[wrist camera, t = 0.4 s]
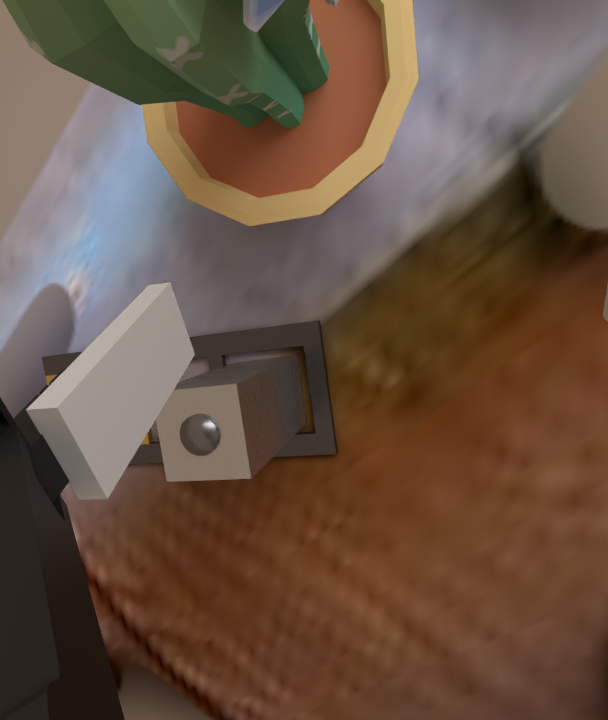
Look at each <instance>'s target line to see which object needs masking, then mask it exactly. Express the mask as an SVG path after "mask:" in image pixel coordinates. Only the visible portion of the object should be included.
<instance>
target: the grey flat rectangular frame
mask: <svg viewBox="0 0 608 720" xmlns="http://www.w3.org/2000/svg"><path fill="white" fill-rule="evenodd" d="M189 339H190V341H191V344H192V347H193V350H194V353H195V355H194V357H193V359H195V358H203V357H208V359H209V365H210V371H212V370H215V369H218V368H221V367H223V366H226V362H225V356H224V355H229V354H237V353H246V352H254V351H263V350H271V349H280V348H288V347H297V346H304V353H305V360H306V368H307V375H308V382H309V389H310V396H311V403H312V410H313V417H314V425H315V432H303V433H296V434H295V435H294V436H293V437H292V438H291V439H290V440H289V441H288V442H287V443H286V444H285V445H284V446H283V447H282V448H281V449H280V450H279V451H278V452H277V453H276V454H275V455H274V456H273V457H288V456H308V455H328V454H337V452H338V451H337V444H336V436H335V429H334V421H333V414H332V407H331V399H330V392H329V385H328V377H327V370H326V362H325V355H324V348H323V340H322V333H321V326H320V320H319V321H312V322H304V323H297V324H289V325H281V326H274V327H266V328H259V329H251V330H243V331H236V332H228V333H221V334H213V335H205V336H198V337H190V338H189ZM81 353H82V352H76V353H69V354H61V355H53V356H46V357H42V360H43V365H44V370H45V375H46V380H47V385H49V382H50V381H51V380H52V379H53V378H54V377H55V376H56V375H57V374H58V373H59V372H61V371H62V370H64V369H65V368H67V367H68V366H70V365H71V364H72V363H73V361H74V360H75V359H76V358H77V357H78V356H79V355H80V354H81ZM147 463H163V457H162V452H161V446H160V442H153V440H152V435H151V429H150V430H149V431H148V433H147V435H146V436H145V438H144V440H143V441H142V443H141V444H140V446H139V448H138V449H137V451H136V453H135V454H134V456H133V458H132V459H131V461H130V463H129V464H147Z"/></svg>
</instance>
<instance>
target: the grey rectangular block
mask: <svg viewBox="0 0 608 720" xmlns="http://www.w3.org/2000/svg"><path fill="white" fill-rule="evenodd" d="M156 423H157V429H158V434H159V440H160V446H161V452H162V457H163V463H164V469H165V474H166V480H167V482H174V481H201V480H228V479H251V478H252V477H253V476H254V475H255V474H256V473H257V472H258V471H259V470H260V469H261V468H262V467H263V466H264V465H265V464H266V463H267V462H268V461H269V460H270V459H271V458H272V457H273V456H274V455H275V454H276V453H277V452H278V451H279V450H280V449H281V448H282V447H283V446H284V445H285V444H286V443H287V442H288V441H289V440H290V439H291V438H292V437H293V436H294V435H295V434H296V433H297V432H298V431H299V430H300V429H301V428H302V427H303V426H304V425H305V424H306V423H307V419H306V412H305V404H304V397H303V390H302V383H301V376H300V369H299V362H298V356H289V357H280V358H271V359H262V360H253V361H244V362H235V363H232V364H229V365H226V366H223V367H221V368H218V369H215V370H212V371H209V372H207V373H204V374H201V375H198V376H195V377H193V378H190V379H187V380H184V381H181V382H179V383H177V385H176V387H175V388H174V390H173V392H172V393H171V395H170V397H169V398H168V400H167V402H166V403H165V405H164V406H163V408H162V410H161V411H160V413H159V415H158V416H157V418H156Z"/></svg>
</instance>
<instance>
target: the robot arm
mask: <svg viewBox="0 0 608 720" xmlns="http://www.w3.org/2000/svg"><path fill="white" fill-rule="evenodd" d="M603 317H604V318H605V319H606V320H607V322H608V286H607V293H606V299H605V306H604V312H603ZM194 355H195V353H194V350H193V347H192V344H191V341H190V339H189V336H188V333H187V330H186V327H185V324H184V321H183V318H182V315H181V312H180V309H179V306H178V304H177V301H176V298H175V295H174V292H173V289H172V286H171V283H170V282H169V283H162V284H154V285H148V286H147V287H146V288H145V289H144V290H143V291H142V292H141V293H140V295H139V296H138V297H137V298H136V299H135V300H134V301H133V302H132V303H131V304H130V305H129V306H128V307H127V308H126V309H125V310H124V311H123V312H122V313H121V314H120V315H119V316H118V317H117V318H116V319H115V320H114V321H113V322H112V323H111V324H110V325H109V326H108V327H107V328H106V329H105V330H104V331H103V332H102V333H101V334H100V335H99V336H98V337H97V338H96V339H95V340H94V341H93V342H92V343H91V344H90V345H89V346H88V347H87V348H86V349H85V350H84V351H83V352H82V353H81V354H80V355H79V356H78V357H77V358H76V359H75V360H74V361H73V363H72V364H71V365H70V366H68V367H67V368H65V369H64V370H62V371H61V372H59V373H58V374H57V375H56V376H55V377H54V378H53V379H52V380H51V381H50V382H49V385H47V386H45V388H43V390H42V391H41V392H40V395H37V396H36V397H35V398H34V399H33V400H32V401H31V402H30V403H29V404H28V405H27V406H26V407H25V408H24V409H23V410H22V411H21V412H20V413H19V414H18V415H17V416H16V417H15V418H14V419H13V418H12V416H11V414H10V413H9V411H8V410H7V408H6V406H5V405H4V403H3V402H2V400H1V398H0V720H125V719H124V716H123V712H122V708H121V705H120V701H119V697H118V693H117V690H116V686H115V682H114V679H113V675H112V671H111V668H110V664H109V660H108V657H107V653H106V649H105V646H104V642H103V638H102V634H101V631H100V627H99V623H98V620H97V616H96V612H95V609H94V605H93V601H92V598H91V594H90V590H89V586H88V583H87V579H86V575H85V572H84V568H83V564H82V561H81V557H80V553H79V550H78V546H77V542H76V538H75V535H74V531H73V527H72V524H71V520H70V516H69V513H68V509H67V505H66V504H65V502H64V500H63V499H62V497H61V495H60V493H61V492H62V491H63V489H64V488H65V486H66V485H67V484H68V482H69V483H70V485H71V487H72V489H73V490H74V492H75V494H76V495H77V497H78V499H79V500H92V499H108V497H109V496H110V494H111V492H112V491H113V489H114V487H115V486H116V484H117V483H118V481H119V479H120V478H121V476H122V474H123V473H124V471H125V469H126V468H127V466H128V464H129V463H130V461H131V459H132V458H133V456H134V454H135V453H136V451H137V449H138V448H139V446H140V444H141V443H142V441H143V440H144V438H145V436H146V435H147V433H148V431H149V430H150V428H151V426H152V425H153V423H154V421H155V420H156V418H157V416H158V415H159V413H160V411H161V410H162V408H163V406H164V405H165V403H166V402H167V400H168V398H169V397H170V395H171V393H172V392H173V390H174V388H175V387H176V385H177V383H178V382H179V380H180V378H181V377H182V375H183V373H184V372H185V370H186V368H187V367H188V365H189V363H190V362H191V360H192V359H193V357H194Z"/></svg>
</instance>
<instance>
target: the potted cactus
mask: <svg viewBox="0 0 608 720" xmlns="http://www.w3.org/2000/svg"><path fill="white" fill-rule="evenodd" d="M3 1H4V3H5V5H6V7H7V9H8V10H9V12H10V13H11V15H12V17H13V19H14V21H15V22H16V24H17V26H18V28H19V29H20V31H21V33H22V34H23V36H24V38H25V39H26V41H27V43H28V45H29V46H30V47H31V48H32V49H34V50H35V51H36V52H38V53H39V54H40V55H42V56H43V57H44V58H46V59H47V60H48V61H49V62H51V63H52V64H54V65H57V66H59V67H61V68H63V69H65V70H67V71H69V72H71V73H73V74H75V75H77V76H79V77H82V78H84V79H86V80H88V81H90V82H92V83H94V84H96V85H98V86H100V87H102V88H105V89H107V90H109V91H111V92H113V93H115V94H117V95H119V96H121V97H123V98H125V99H127V100H130V101H132V102H134V103H136V104H138V105H142V107H143V114H144V121H145V128H146V135H147V142H148V144H149V145H150V147H151V148H152V149H153V151H154V152H155V154H156V155H157V157H158V158H159V159H160V161H161V162H162V164H163V165H164V167H165V168H166V169H167V171H168V172H169V174H170V175H171V177H172V178H173V179H174V181H175V182H176V184H177V185H178V186H179V188H180V189H181V191H182V192H183V194H184V195H185V196H186V198H187V199H188V200H190V201H192V202H195V203H197V204H199V205H201V206H204V207H206V208H208V209H211V210H213V211H215V212H217V213H220V214H222V215H224V216H227V217H229V218H231V219H233V220H236V221H238V222H240V223H243V224H245V225H247V226H255V225H261V224H267V223H273V222H279V221H285V220H291V219H297V218H303V217H309V216H315V215H321V214H323V213H325V212H326V211H328V210H329V209H330V208H331V207H332V206H334V205H335V204H336V203H337V202H338V201H340V200H341V199H342V198H343V197H344V196H346V195H347V194H348V193H349V192H351V191H352V190H353V189H354V188H355V187H357V186H358V185H359V184H360V183H361V182H363V181H364V180H365V179H366V178H367V177H369V176H370V175H371V174H372V173H374V172H375V171H376V170H377V169H378V168H380V167H381V166H382V164H383V162H384V160H385V157H386V155H387V153H388V150H389V148H390V146H391V143H392V141H393V138H394V136H395V134H396V131H397V129H398V127H399V124H400V122H401V120H402V117H403V115H404V113H405V110H406V108H407V106H408V103H409V101H410V99H411V96H412V94H413V92H414V89H415V87H416V84H417V82H418V80H419V77H418V64H417V52H416V39H415V26H414V14H413V1H412V0H3Z"/></svg>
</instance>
